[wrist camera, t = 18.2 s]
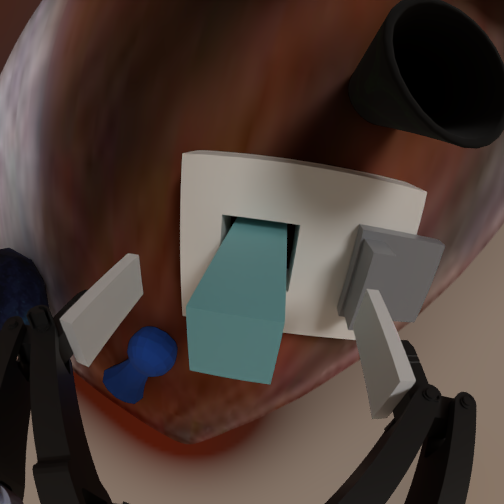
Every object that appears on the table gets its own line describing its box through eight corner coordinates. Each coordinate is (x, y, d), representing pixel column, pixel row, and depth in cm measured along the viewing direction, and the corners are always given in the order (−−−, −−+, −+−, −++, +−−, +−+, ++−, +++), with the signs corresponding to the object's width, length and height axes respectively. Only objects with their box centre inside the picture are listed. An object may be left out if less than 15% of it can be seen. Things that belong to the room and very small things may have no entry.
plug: (240, 211, 23) (185, 306, 11) (287, 217, 23) (284, 322, 10) (237, 253, 25) (189, 369, 12) (280, 259, 25) (270, 384, 12)
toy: (146, 384, 37) (191, 346, 31) (131, 414, 32) (174, 385, 26) (111, 359, 36) (145, 313, 30) (92, 387, 31) (121, 348, 24)
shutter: (359, 223, 18) (373, 243, 15) (438, 239, 18) (460, 258, 15) (336, 307, 21) (343, 336, 18) (409, 314, 21) (423, 340, 18)
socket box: (199, 150, 22) (182, 153, 18) (406, 182, 20) (427, 192, 17) (195, 292, 27) (182, 315, 24) (367, 315, 26) (376, 341, 23)
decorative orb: (-15, 208, 21) (-67, 298, 14) (50, 279, 23) (-7, 383, 16) (20, 247, 33) (-21, 314, 26) (77, 301, 35) (34, 375, 28)
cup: (398, 155, 20) (485, 181, 9) (320, 108, 19) (357, 77, 8) (430, 87, 16) (521, 70, 5) (356, 38, 16) (409, -29, 5)
